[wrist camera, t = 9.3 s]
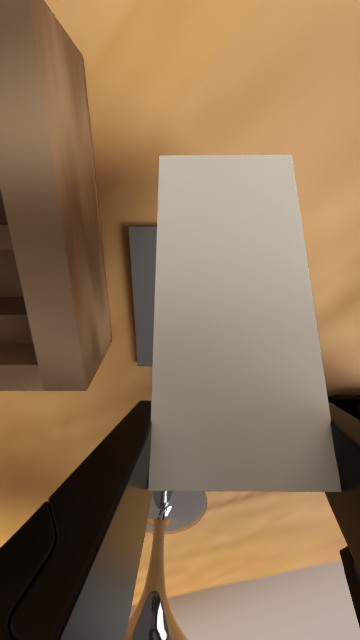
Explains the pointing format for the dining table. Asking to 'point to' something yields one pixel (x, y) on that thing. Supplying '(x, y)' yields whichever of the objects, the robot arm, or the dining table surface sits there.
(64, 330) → the rectangular frame
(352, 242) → the dining table surface
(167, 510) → the wine glass
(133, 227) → the mat
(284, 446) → the block
